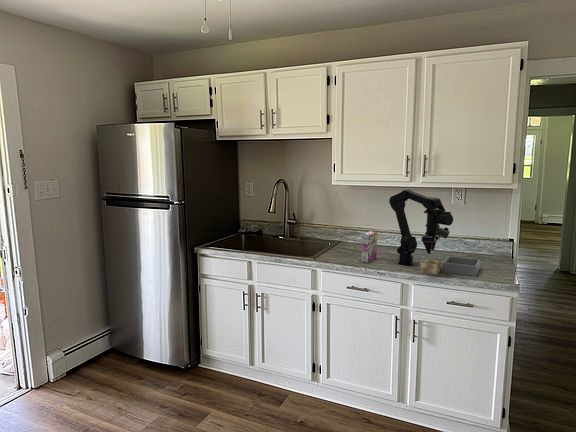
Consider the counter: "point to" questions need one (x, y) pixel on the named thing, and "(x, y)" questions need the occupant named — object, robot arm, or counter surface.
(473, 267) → the charcoal crate
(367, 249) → the candy bar box
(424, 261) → the birch crate
